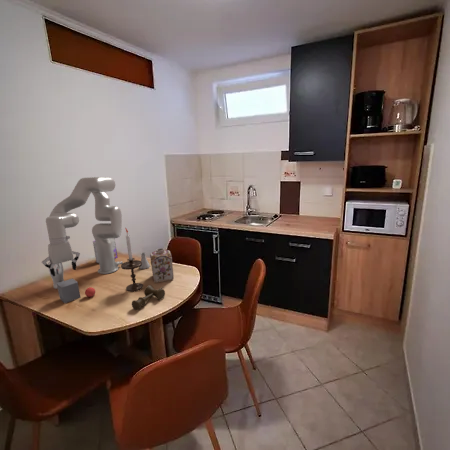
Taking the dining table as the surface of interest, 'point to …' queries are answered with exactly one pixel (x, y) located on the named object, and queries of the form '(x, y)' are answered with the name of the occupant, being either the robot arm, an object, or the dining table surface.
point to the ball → (90, 292)
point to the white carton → (113, 249)
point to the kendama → (148, 296)
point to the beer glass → (57, 274)
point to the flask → (144, 261)
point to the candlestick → (131, 267)
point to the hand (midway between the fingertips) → (64, 272)
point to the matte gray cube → (68, 290)
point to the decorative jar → (161, 265)
